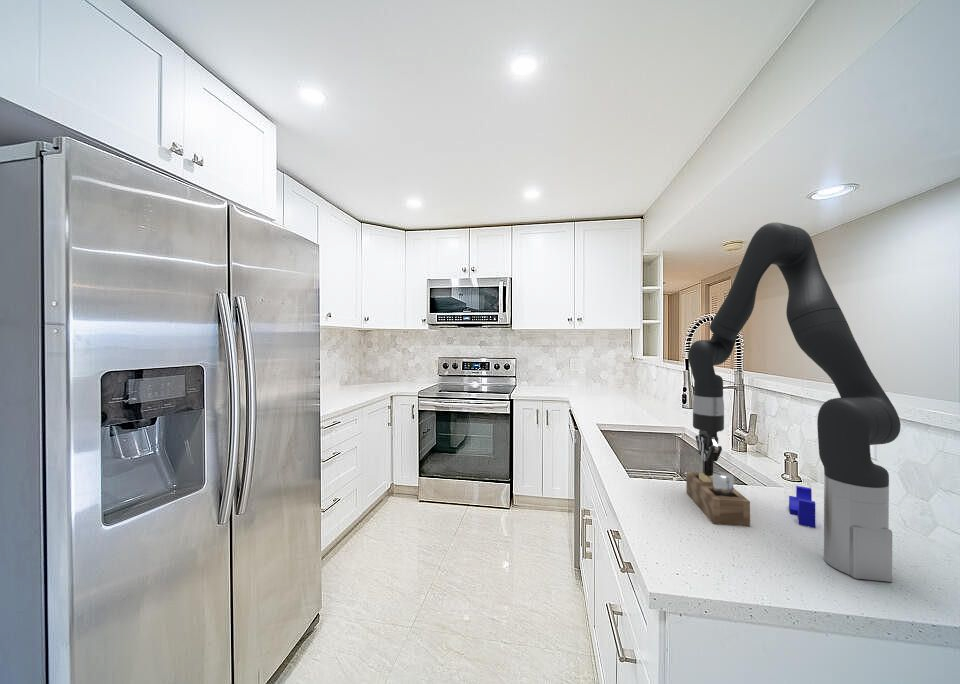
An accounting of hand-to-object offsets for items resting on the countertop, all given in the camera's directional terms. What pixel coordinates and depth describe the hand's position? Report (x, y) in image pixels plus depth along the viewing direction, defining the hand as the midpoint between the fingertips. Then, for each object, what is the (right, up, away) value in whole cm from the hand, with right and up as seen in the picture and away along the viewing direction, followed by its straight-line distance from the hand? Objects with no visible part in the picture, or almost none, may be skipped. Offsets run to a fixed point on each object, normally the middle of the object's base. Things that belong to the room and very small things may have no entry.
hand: (707, 474), depth 111 cm
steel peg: (-2, -3, -10) cm, 11 cm away
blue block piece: (+18, -8, -10) cm, 22 cm away
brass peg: (0, -6, 0) cm, 6 cm away
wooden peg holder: (-1, -7, -5) cm, 9 cm away
